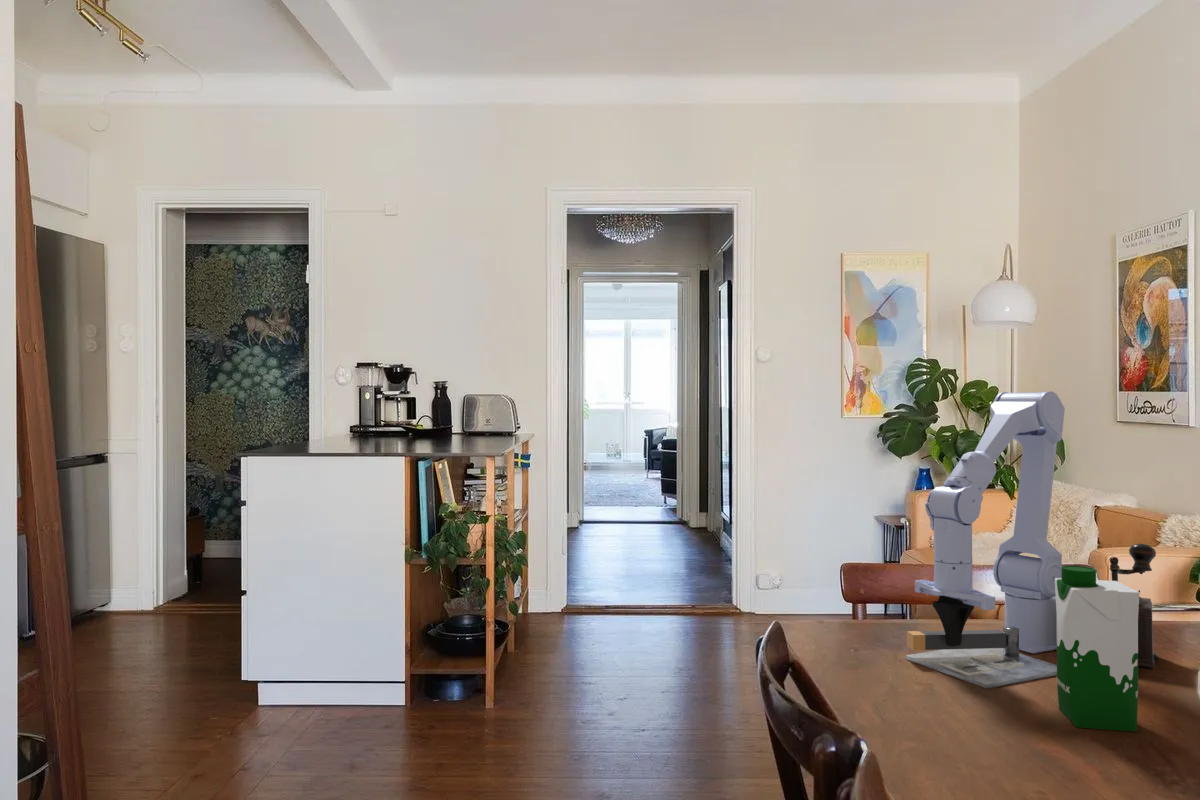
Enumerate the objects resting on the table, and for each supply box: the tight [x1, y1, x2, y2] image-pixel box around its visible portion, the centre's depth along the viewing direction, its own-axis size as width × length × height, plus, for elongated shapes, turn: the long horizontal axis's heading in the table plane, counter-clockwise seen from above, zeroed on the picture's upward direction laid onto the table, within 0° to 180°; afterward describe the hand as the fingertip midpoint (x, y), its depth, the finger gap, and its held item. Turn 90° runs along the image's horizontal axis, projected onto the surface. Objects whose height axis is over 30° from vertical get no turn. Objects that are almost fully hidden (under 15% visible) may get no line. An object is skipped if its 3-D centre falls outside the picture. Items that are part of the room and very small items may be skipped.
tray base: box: [905, 625, 1057, 689], centre depth 135 cm, size 18×16×5 cm
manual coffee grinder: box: [1109, 543, 1159, 670], centre depth 142 cm, size 16×11×18 cm
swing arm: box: [906, 629, 1006, 652], centre depth 138 cm, size 16×2×2 cm, turn 95°
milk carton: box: [1055, 565, 1141, 733], centre depth 112 cm, size 9×9×20 cm
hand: (953, 645), depth 136 cm, fingers closed
